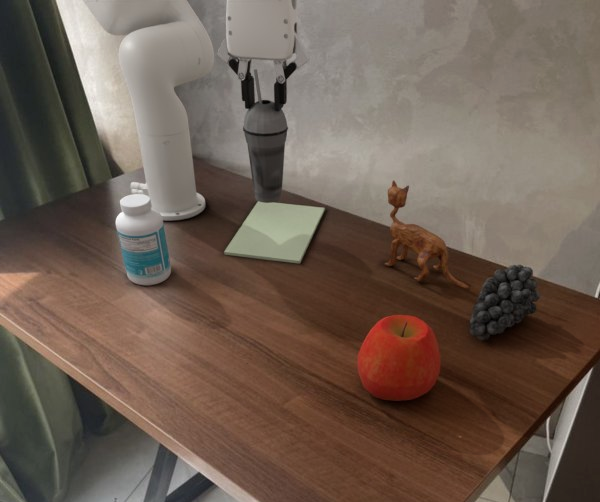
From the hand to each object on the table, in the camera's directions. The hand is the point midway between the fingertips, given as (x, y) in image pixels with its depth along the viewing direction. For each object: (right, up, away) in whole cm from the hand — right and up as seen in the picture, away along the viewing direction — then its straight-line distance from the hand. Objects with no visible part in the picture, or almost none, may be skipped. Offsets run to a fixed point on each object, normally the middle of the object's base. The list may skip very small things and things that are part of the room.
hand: (264, 106), depth 94 cm
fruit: (+35, -35, -2) cm, 49 cm away
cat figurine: (+27, -25, +9) cm, 37 cm away
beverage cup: (0, -11, +10) cm, 15 cm away
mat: (+1, -14, +21) cm, 25 cm away
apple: (+18, -44, -13) cm, 50 cm away
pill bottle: (-20, -25, +8) cm, 33 cm away
